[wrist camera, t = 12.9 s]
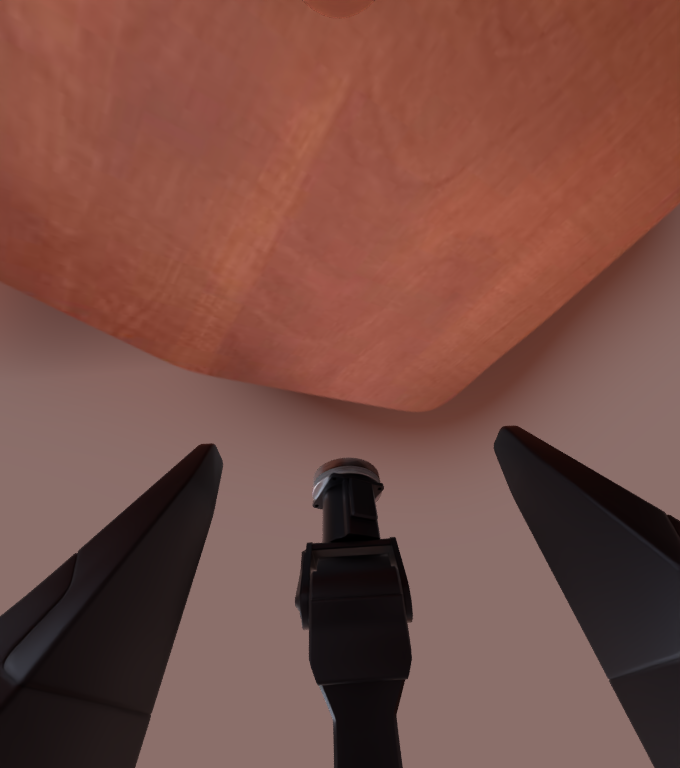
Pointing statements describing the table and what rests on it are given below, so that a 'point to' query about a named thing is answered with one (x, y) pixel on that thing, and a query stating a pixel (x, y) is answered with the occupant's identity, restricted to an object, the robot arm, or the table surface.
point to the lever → (338, 7)
